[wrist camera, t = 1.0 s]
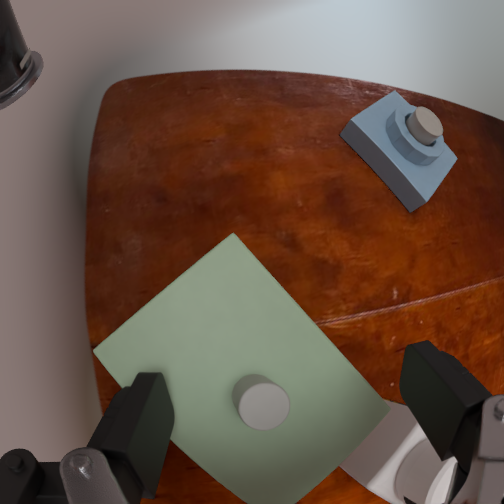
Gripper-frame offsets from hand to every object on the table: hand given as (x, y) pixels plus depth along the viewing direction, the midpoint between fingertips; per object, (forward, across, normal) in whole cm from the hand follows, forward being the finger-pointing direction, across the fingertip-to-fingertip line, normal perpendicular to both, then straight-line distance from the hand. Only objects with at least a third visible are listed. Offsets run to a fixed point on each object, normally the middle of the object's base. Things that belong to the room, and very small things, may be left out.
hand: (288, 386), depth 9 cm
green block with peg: (+12, +4, +7) cm, 15 cm away
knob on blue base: (+25, -16, -9) cm, 31 cm away
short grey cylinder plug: (+21, -17, -11) cm, 29 cm away
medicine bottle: (+10, -9, +17) cm, 22 cm away
